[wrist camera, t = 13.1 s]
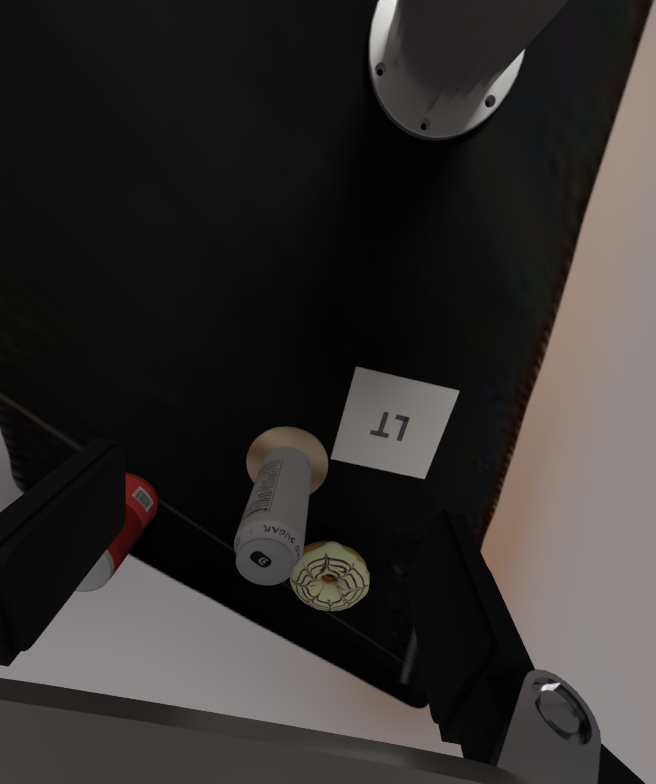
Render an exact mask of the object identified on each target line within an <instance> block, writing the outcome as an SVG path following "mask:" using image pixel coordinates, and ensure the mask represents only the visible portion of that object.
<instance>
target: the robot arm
mask: <svg viewBox="0 0 656 784" xmlns="http://www.w3.org/2000/svg"><path fill="white" fill-rule="evenodd" d="M567 1H568V0H378V2H377V5H376V8H375V12H374V15H373V19H372V22H371V28H370V34H369V45H368V65H369V75H370V79H371V83H372V87H373V91H374V93H375V95H376V98H377V100H378V102H379V104H380V106H381V108H382V109H383V111H384V112H385V114H386V115H387V117H388V118H389V119H390V120H391V121H392V122H393V123H394V124H395V125H396V126H397V127H398V128H400V129H401V130H403V131H404V132H406V133H408V134H409V135H411V136H414V137H417V138H420V139H423V140H432V141H440V140H448V139H452V138H455V137H458V136H461V135H464V134H465V133H467V132H469V131H470V130H472V129H474V128H476V127H477V126H478V125H479V124H481V123H482V122H483V121H484V120H485V119H487V118H488V117H489V116H490V115H491V114H492V113H493V112H494V111H495V110H496V109H497V108H498V106H499V105H500V104H501V102H502V101H503V100H504V98H505V97H506V95H507V94H508V93H509V91H510V89H511V87H512V85H513V83H514V81H515V79H516V77H517V75H518V72H519V69H520V66H521V63H522V61H523V58H524V52H525V48H526V47H527V46H528V45H529V43H530V42H531V41H532V40H533V39H534V38H535V37H536V36H537V35H538V33H539V32H540V31H541V30H542V29H543V28H544V27H545V26H546V25H547V23H548V22H549V21H550V20H551V19H552V18H553V17H554V16H555V15H556V13H557V12H558V11H559V10H560V9H561V8H562V7H563V6H564V4H565V3H566V2H567ZM378 71H380V72H382V76H379V75H377V72H378ZM486 102H487V103H488V105H489V106H488V107H486V105H485V103H486ZM421 125H424V126H425V130H422V129H421V128H420V127H421ZM125 520H126V452H125V449H124V448H121V445H120V443H119V442H117V441H112V440H107V439H103V438H95V439H93V440H92V441H91V442H90V443H88V444H87V445H86V446H84V447H83V448H82V449H81V450H79V451H78V452H77V453H76V454H74V455H73V456H72V457H70V458H69V459H68V460H67V461H65V462H64V463H63V464H61V465H60V466H59V467H58V468H56V469H55V470H54V471H53V472H51V473H50V474H49V475H47V476H46V477H45V478H44V479H42V480H41V481H40V482H38V483H37V484H36V485H35V486H33V487H32V488H31V489H29V490H28V491H27V492H26V493H24V494H23V495H22V496H20V497H19V498H18V499H17V500H15V501H14V502H13V503H12V504H10V505H9V506H8V507H6V508H5V509H4V510H3V511H2V512H0V665H3V666H9V665H10V664H11V663H12V661H13V660H14V659H15V658H16V656H17V655H18V654H19V653H20V651H26V650H28V649H29V648H30V647H31V646H32V645H33V644H34V643H35V642H36V640H37V639H38V638H39V637H40V635H41V634H42V632H43V631H44V630H45V629H46V627H47V626H48V625H49V624H50V622H51V621H52V620H53V618H54V617H55V616H56V614H57V613H58V612H59V611H60V609H61V608H62V607H63V605H64V604H65V603H66V601H67V600H68V599H69V598H70V596H71V595H72V594H73V592H74V591H75V590H76V589H77V587H78V586H79V585H80V583H81V582H82V581H83V579H84V578H85V577H86V576H87V574H88V573H89V572H90V570H91V569H92V568H93V567H94V565H95V564H96V563H97V561H98V560H99V559H100V557H101V556H102V555H103V554H104V552H105V551H106V550H107V548H108V547H109V546H110V545H111V543H112V542H113V541H114V539H115V538H116V537H117V535H118V534H119V533H120V532H121V530H122V528H123V526H124V524H125ZM407 590H408V596H409V601H410V606H411V612H412V617H413V622H414V628H415V633H416V638H417V643H418V649H419V654H420V659H421V665H422V670H423V675H424V681H425V686H426V691H427V696H428V702H429V707H430V712H431V716H432V719H433V721H434V723H436V724H439V729H440V734H441V739H442V741H443V742H449V743H455V744H460V745H461V749H462V753H463V757H464V758H461V757H456V756H451V755H446V754H441V753H436V752H431V751H426V750H421V749H416V748H411V747H406V746H401V745H396V744H390V743H384V742H379V741H373V740H367V739H362V738H356V737H350V736H345V735H339V734H334V733H328V732H322V731H317V730H311V729H305V728H299V727H294V726H288V725H283V724H277V723H271V722H265V721H259V720H253V719H248V718H242V717H236V716H230V715H224V714H219V713H213V712H206V711H201V710H195V709H189V708H183V707H177V706H172V705H166V704H160V703H153V702H147V701H142V700H136V699H130V698H123V697H117V696H111V695H105V694H99V693H93V692H87V691H81V690H74V689H69V688H63V687H57V686H50V685H45V684H37V683H31V682H24V681H17V680H10V679H3V678H0V784H645V783H644V782H643V781H642V780H641V779H640V778H638V776H636V775H635V774H634V773H633V772H632V771H631V770H630V769H629V768H628V767H627V766H625V765H624V764H623V763H622V762H621V761H620V760H619V759H618V758H617V757H616V756H614V755H613V754H612V753H611V752H610V751H609V750H608V749H607V748H605V746H604V745H603V744H601V737H600V730H599V727H598V725H597V722H596V719H595V717H594V715H593V714H592V712H591V710H590V709H589V707H588V705H587V704H586V703H585V701H584V700H583V699H582V698H581V696H580V695H579V694H578V693H577V692H576V691H575V690H574V689H573V688H572V687H571V686H570V685H569V684H568V683H567V682H566V681H564V680H562V679H561V678H559V677H558V676H557V675H555V674H553V673H550V672H548V671H545V670H537V669H535V668H534V666H533V664H532V662H531V659H530V657H529V655H528V653H527V651H526V648H525V646H524V644H523V642H522V640H521V637H520V635H519V633H518V631H517V629H516V626H515V624H514V622H513V620H512V618H511V615H510V613H509V611H508V609H507V607H506V604H505V602H504V600H503V598H502V595H501V593H500V591H499V589H498V587H497V584H496V582H495V580H494V578H493V576H492V573H491V572H490V570H489V568H488V567H487V565H486V563H485V561H484V559H483V556H482V554H481V552H480V550H479V547H478V545H477V543H476V541H475V539H474V536H473V534H472V532H471V530H470V527H469V525H468V523H467V521H466V519H465V517H464V515H463V514H461V513H457V512H452V511H447V510H442V511H441V512H440V514H435V515H434V517H433V519H432V521H431V523H430V526H429V528H428V530H427V532H426V535H425V537H424V539H423V541H422V544H421V546H420V548H419V550H418V552H417V555H416V557H415V559H414V561H413V564H412V566H411V568H410V570H409V573H408V575H407Z"/></svg>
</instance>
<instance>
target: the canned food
mask: <svg viewBox="0 0 656 784" xmlns="http://www.w3.org/2000/svg"><path fill="white" fill-rule="evenodd" d="M158 504H159V499H158V495H157V493H156V491H155V489H154V488H153V487H152V486H151V485H150V484H149V483H148V482H147V481H146V480H144V479H143V478H141V477H139V476H137V475H133V474H129V473H126V520H125V524H124V526H123V528H122V530H121V532H120V533H119V534H118V535H117V537H116V538H115V539H114V541H113V542H112V543H111V545H110V546H109V547H108V548H107V550H106V551H105V552H104V554H103V555H102V556H101V557H100V559H99V560H98V561H97V563H96V564H95V565H94V567H93V568H92V569H91V570H90V572H89V573H88V574H87V576H86V577H85V578H84V579H83V581H82V582H81V583H80V585H79V586H78V587H77V589H76V590H75V591H81V592H87V591H93V590H96V589H99V588H101V587H102V586H104V585H105V584H106V583H107V582H108V580H109V579H110V578H111V577H112V576H113V574H114V573H115V571H116V570H117V569H118V567H119V566H120V565H121V563H122V562H123V560H124V559H125V558H126V556H127V555H128V553H129V552H130V550H131V549H132V548H133V546H134V545H135V543H136V542H137V540H138V539H139V538H140V536H141V535H142V533H143V532H144V530H145V529H146V528H147V526H148V525H149V523H150V522H151V520H152V519H153V517H154V516H155V514H156V512H157V508H158Z"/></svg>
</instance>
